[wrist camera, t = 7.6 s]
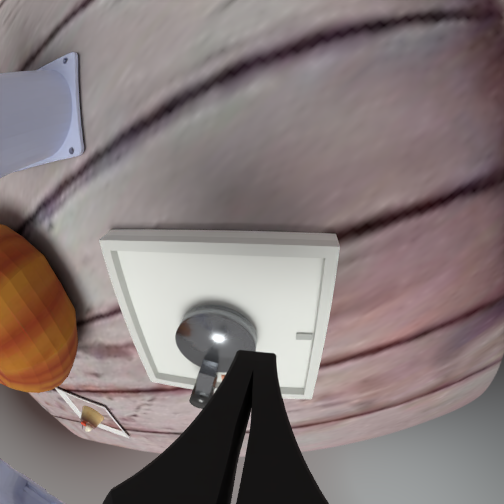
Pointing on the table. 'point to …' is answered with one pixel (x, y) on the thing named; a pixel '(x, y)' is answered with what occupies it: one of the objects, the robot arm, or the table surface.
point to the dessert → (90, 415)
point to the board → (226, 294)
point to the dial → (213, 344)
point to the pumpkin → (33, 319)
